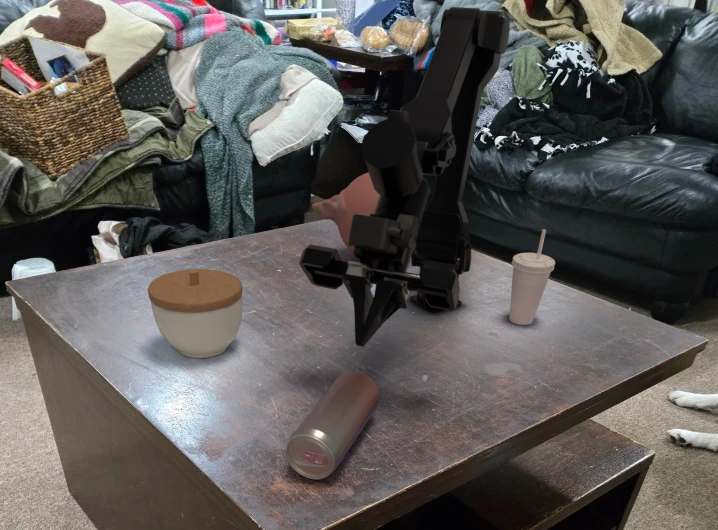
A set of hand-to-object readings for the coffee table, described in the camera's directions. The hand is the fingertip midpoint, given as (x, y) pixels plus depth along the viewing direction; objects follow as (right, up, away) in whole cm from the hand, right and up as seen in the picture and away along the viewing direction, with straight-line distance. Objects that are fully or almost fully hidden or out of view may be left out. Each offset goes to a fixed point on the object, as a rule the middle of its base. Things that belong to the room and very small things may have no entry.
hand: (359, 345), depth 75 cm
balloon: (+2, +28, +47) cm, 55 cm away
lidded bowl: (-22, +4, +18) cm, 29 cm away
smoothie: (+27, +11, +28) cm, 40 cm away
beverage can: (0, -5, +3) cm, 6 cm away
